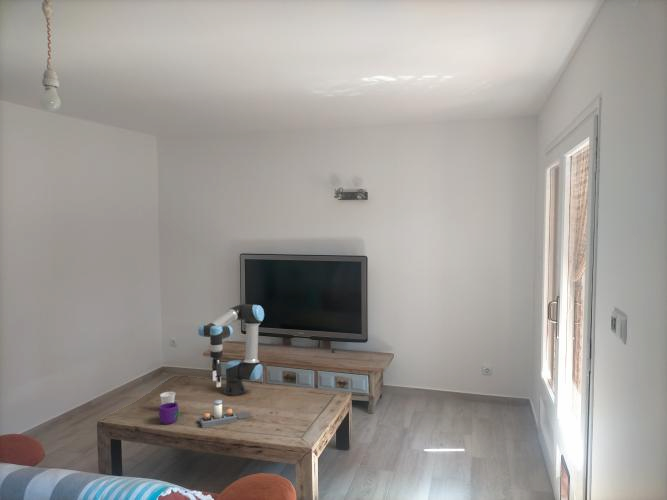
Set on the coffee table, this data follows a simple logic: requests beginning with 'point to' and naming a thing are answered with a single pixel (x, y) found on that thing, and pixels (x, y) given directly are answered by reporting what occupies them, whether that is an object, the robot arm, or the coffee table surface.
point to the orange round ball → (206, 416)
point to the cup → (167, 397)
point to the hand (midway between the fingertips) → (216, 383)
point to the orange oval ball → (229, 412)
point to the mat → (243, 415)
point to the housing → (218, 420)
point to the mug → (168, 413)
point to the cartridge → (217, 409)
